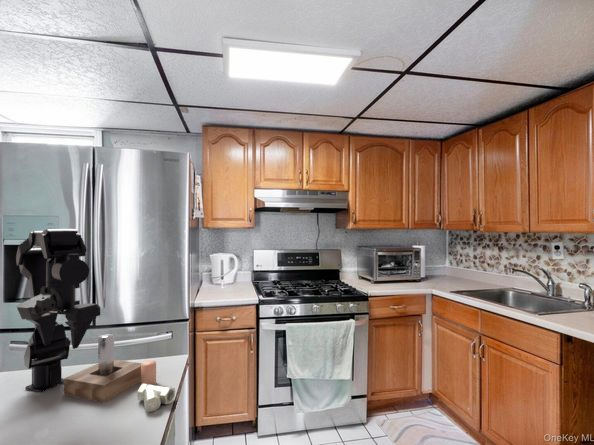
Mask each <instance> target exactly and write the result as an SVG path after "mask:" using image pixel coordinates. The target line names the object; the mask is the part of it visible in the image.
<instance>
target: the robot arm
mask: <svg viewBox="0 0 594 445" xmlns="http://www.w3.org/2000/svg"><path fill="white" fill-rule="evenodd" d="M35 246H38V247H39V248H38V247H35ZM34 247H35V248H34ZM86 253H87V247H86V244H85V242H84V239H83V237H82V235H81V233H79V231H78V230H77V229H76V228H48V229H47V228H46V229H44V230H33V231H30V232H29V234H28V237H27V239H24V241H22V242H21V243H20V244H18V247H17V251H16V256H15V259H16V260H15V262H16V266H18V267H19V272H20V275H22V276H24V277H25V278H26V279H27V280H28V284H29V291H30V298H29V299H27V300H25V301H23V302H22V303H19V304H18V305H17V306H16V309H17V311H18V314H19V316H20V318H21V319H22V320H25V321H28V322H30V323H33V325H34V331H33V333H32V334H31V336H30V338H29V341H28V344H27V345H26V349H25V351H24V352H25V353H24V355H23V359H24V366H25V367H26V368H27V369H29V370H30V369H31V384H28V385H27V386H25V390H28V391H32V392H33V391H34V392H39V393H43V392H46V391H48V390H51V389H52V388H56V387H57V386H59V385H61V384H64V377H63V376H62V372H63V371H62V369H63V368H62V360H67V359H69V358H68V357H69V355H70V354H69V353H70V346H72V349H73V350H75V349H77V348H79V346H80V345H81V343H82V340H83V338H84V336H85V334H86V333H87V330H89V329H88V328H90V326H91V324H92V322H93V320H96V319H97V317H99V316H101V306H100V305H98V304H97V303H83V304H80V302H81V301H80V300H77V299H76V289H80V285H81V284H82V283H83V282H85V280H86V279H88V276H89V274H90V267H89V265H88V263H87V262H85V261H84V260H83V259H80V257H86ZM58 315H64V317H65V319H66V321H64V323H65V324H66V325H67V326H68V327H69V328H70V338H71V340H70V339H69V336H68V335H67V334H66V330H65V329H66V327H65V325H64V324H63V323H58V322H57V318H58ZM62 377H63V378H62Z"/></svg>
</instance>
